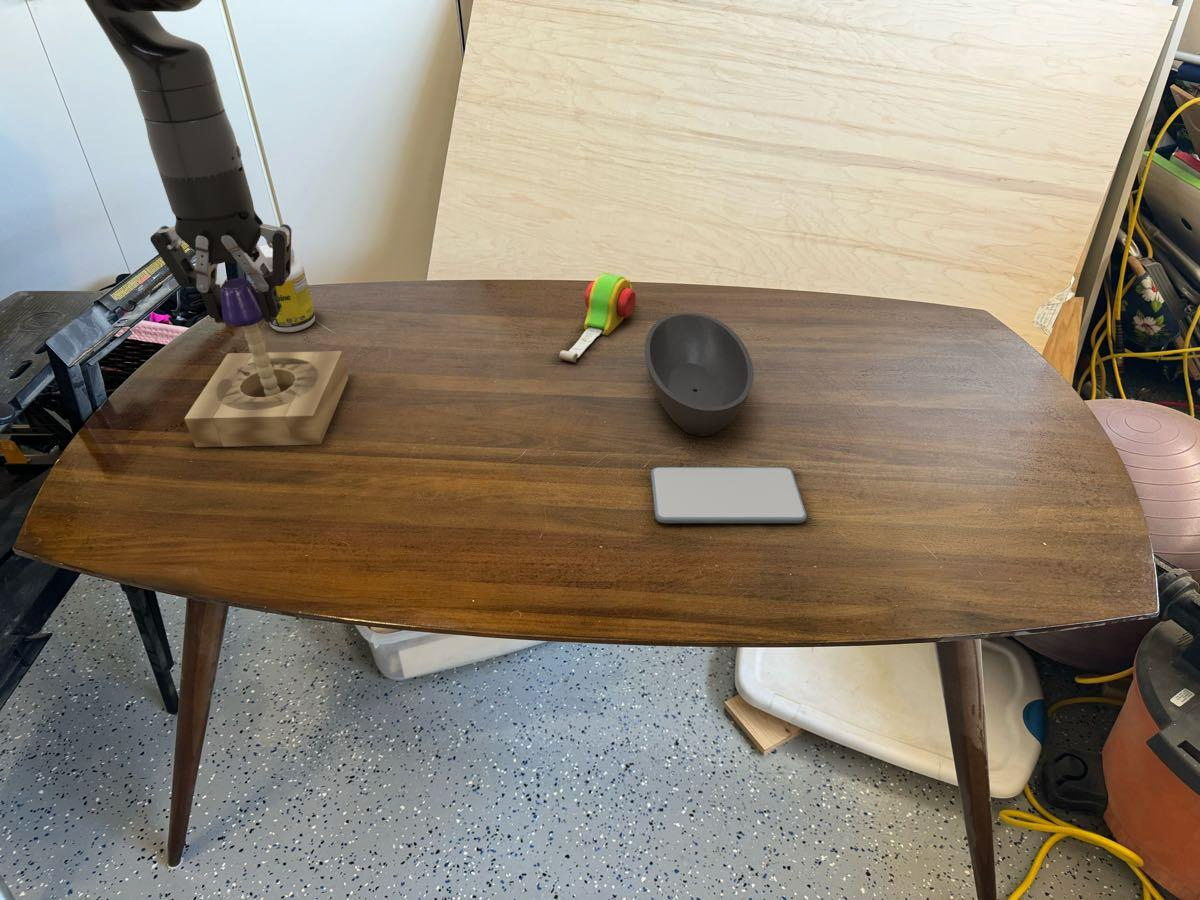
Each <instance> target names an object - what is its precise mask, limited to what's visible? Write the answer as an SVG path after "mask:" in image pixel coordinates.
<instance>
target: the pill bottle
mask: <svg viewBox="0 0 1200 900" xmlns="http://www.w3.org/2000/svg"><path fill="white" fill-rule="evenodd" d="M258 247H259V248H260V250H261V251H262V253H263V254H264V256H265V260H266V263H267V265H268V266H269V268H270V269H271V271H272V262H273V248H270V247H269V246H268V245H267V243H266V244H263V245H261V246H258ZM275 287H276V291H277V294H278V298H279V302H280V305H281V310H280V312H279V314H278V315H277V317H276V318H275V320H274V322H268V323H269V325H270V327H271V328H272V329H273V330H275V331H278V332H280V333H294V332H300V331H302V330H306V329H307V328H309V327H310V326H312V325H313V324H314V323H315V321H316V313H315V309H314V305H313V301H312V297H311V293H310V289H309V284H308V280H307V277H306V272H305V269H304V266H303V264H302V262H300V261H299V260H298V259H296V258H295V251H294V249H293V246H292V245H291V273H290V275H289V277H288V278H287V279H286V281H285V283H284V284H283V285H282V286H275Z"/></svg>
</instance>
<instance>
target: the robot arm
mask: <svg viewBox="0 0 1200 900" xmlns="http://www.w3.org/2000/svg"><path fill="white" fill-rule="evenodd" d="M202 1H203V0H84V2H85V3H86V5H87V7H88V8H89V10H90V11H91V14H92V15H93V17H94V18H95V20H96V21H97V23H98V24H99V26H100V28H101V29H102V31H103V32H104V34H105V36H106V37H107V40H108V41H109V42H110V44H111V47H112V48H113V50H114V51H115V52H116V54H117V55H118V57H119V58H120V60H121V62H122V63H123V65H124V67H125V68H126V70H127V73H128V74H129V77H130V81H131V84H132V87H133V90H134V93H135V96H136V100H137V102H138V105H139V109H140V111H141V114H142V117H143V120H144V124H145V128H146V134H147V139H148V144H149V147H150V151H151V153H152V156H153V158H154V161H155V164H156V168H157V171H158V174H159V177H160V179H161V183H162V185H163V188H164V191H165V194H166V197H167V200H168V204H169V206H170V209H171V212H172V214H173V215H174V216H175V224H174V226H171V227H169V226H167V225H163V226H161V227H160V228H159V229H158V230H156V231H155V232H154V233H153V234H152V235H151V236H150V239H149V240H150V242H151V244H152V245H153V247H154V248H155V250H156V252H157V253H158V255H159V256H160V258H161V259H162V261H163V262H164V264H165V266H166V268H168V270H169V272H170V274H171V275H172V277H173V278H174V279H175V281H176V283H177V285H178V286H180V288H184V289H185V288H188V287H189V288H193V289H196V290H197V291H198V292H199V293H200V296H201V298H202V300H203V303H204V306H205V309H206V312H207V315H208V316H209V317H210V318H211V319H214V322H215V323H216V324H224V323H225V322H224V320H223V316H222V303H221V284H220V283H219V284H218V283H216V282H217V279H218V265H221V264H223V263H229V264H233V265H234V264H235V265H237V264H238V266H239V267H240V269H241V270H242V272H243V273H244V274H245V275H247V276H248V277H249V278H250V279H251V281H252V282H253V284H254V285H255V287H256V288H257V295H258V298H259V302H260V305H261V309H262V312H263V316H264V319H263V320H264V322H265V323H269V322H274V320H275V318H276V317H277V315H278V314H279V312H280V310H281V305H280V302H279V298H278V294H277V291H276V287H275V286H282V285H283V284H284V283H285V281H286V279H287V278H288V277H289V275H290V273H291V246H292V233H293V231H292V227H290V225H289V224H286V223H283V224H281V225H280V226H275V225H271V224H266V223H263V220H262V219H261V218H260V216H259V215H258V213H256V210H255V207H254V201H253V197H252V192H251V189H250V186H249V183H248V179H247V178H248V177H247V175H246V171H245V168H244V164H243V160H242V153H241V148H240V146H239V145H238V141H237V138H236V135H235V132H234V129H233V127H232V124H231V122H230V120H229V117H228V115H227V111H226V109H225V105H224V102H223V98H222V95H221V90H220V87H219V84H218V80H217V76H216V73H215V69H214V66H213V63H212V60H211V57H210V55H209V53H208V51H207V50H206V48H204V47H203V46H202V45H201V44H199V43H198V42H195V41H192V40H189V39H185V38H182V37H179V36H176V35H174V34H172V33H170V32H168V31H167V30H166V29H165V28H164V27H163V25H162V23H161V22H160V21H159V20H158V18H157V16H156V15H155V14H154V12H160V13H161V12H162V13H163V12H165V13H180V12H187V11H189V10H191V9H194V8H196V7H197V6H198V5H200V3H201V2H202ZM261 237H263V238H264V239H265V241H266V244H267V245H268V246H269V247H270V248H273V262H272V271H271V269H270V268H269V266H268V265H267V263H266V260H265V256H264V254H263V253H262V251H261V250H260V248H259V247H260V246H259V245H258V243H259V241H260V238H261ZM183 242H184V243H185V244H187V246H188V247H189V248H190V249H192V250H193V251H194V252H195V265H194V264H193V262H192V260H191V259H190V258H189V256H188V254H187V253H186V251H185V250H184V249H185V248H184V247H183V246H182V244H183Z"/></svg>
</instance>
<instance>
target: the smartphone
mask: <svg viewBox="0 0 1200 900" xmlns="http://www.w3.org/2000/svg"><path fill="white" fill-rule="evenodd" d="M650 478H651V479H650V481H651V489H652V490H651V491H652V500H653V510H654V518H655V520H656V521H657V522H659V523H662V524H803V523H804V522H805V521H806V520H807V517H808V515H807V512H806V509H805V506H804V503H803V499H802V496H801V494H800V489H799V486H798V484H797V481H796V478H795V475H794V472H793V470H792V469H790V468H789V467H786V466H657V467H653V468H652V469H651V471H650Z"/></svg>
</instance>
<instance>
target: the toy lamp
mask: <svg viewBox="0 0 1200 900" xmlns="http://www.w3.org/2000/svg"><path fill="white" fill-rule="evenodd" d="M220 287H221V303H222V316H223V320H224V323H225V324H226V325H228V326H231V327H235V328H236V327H238V328H240V327H241V330H243V333H244V334H243V335H244V339H245V340H246V342H247V343H248V345H247V347H248V351H249V353H252V354H253V356H252V358H253V362H254V364H255V365H256V366H257V367H256V370H257V373H258V375H259V376H260V377H261V378H260V381H261V384H262V386H263V387H264V393H265V396H266V397H267V396H272V395H276V394H278V393H281V390H280V388H279V386H278V385H277V378H276V376H275V375H274V369H273V366H272V365H271V364H270V357H269V355H268V353H269V352H267V345H266V343H265V341H264V340H263V334H262V331H261V329H260V328H259V323H260V322H261V321H263V320H265V319H264V316H263V312H262V309H261V305H260V302H259V298H258V295H257V292H258V290H257V289H256V288H255V286H254V285H253V283H251V281H249V279H247V278H244V277H243V278H242V277H237V278H236V277H235V278H231V279H228V280H226V281H224V283H222V284H221V285H220Z"/></svg>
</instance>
